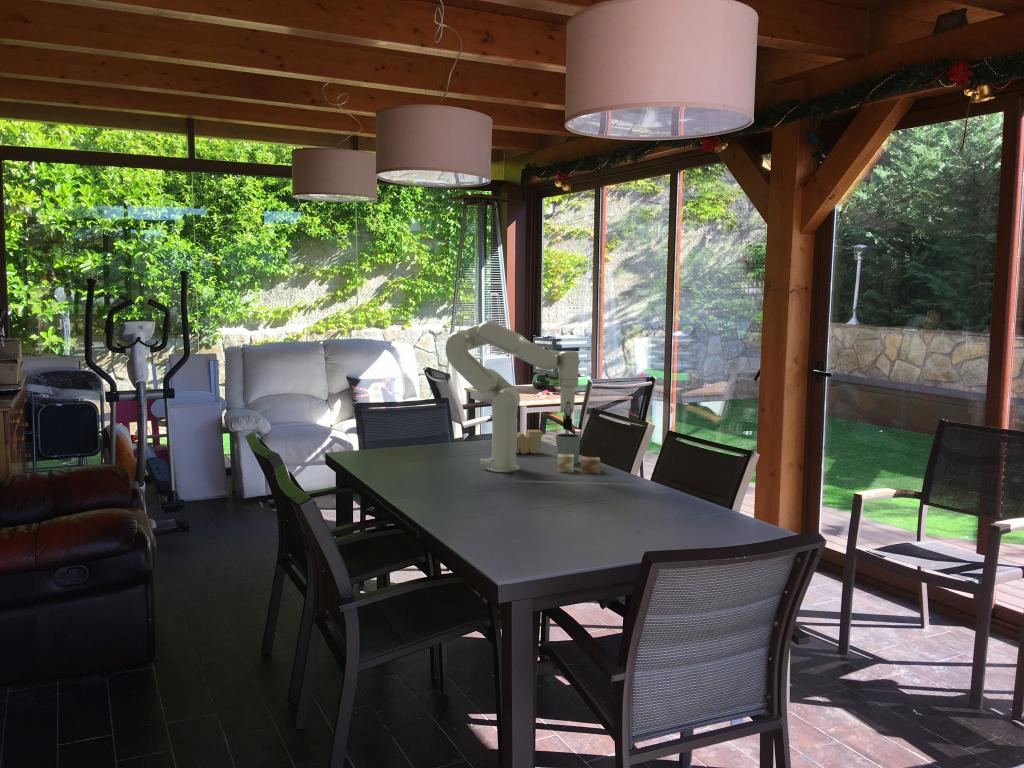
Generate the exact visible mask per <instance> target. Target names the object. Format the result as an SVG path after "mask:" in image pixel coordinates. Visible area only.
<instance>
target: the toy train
mask: <svg viewBox="0 0 1024 768" xmlns="http://www.w3.org/2000/svg"><path fill="white" fill-rule="evenodd" d="M543 435H544V432H543V431H542V430H540V429H526V433H525V434H524V433H522V432H520V431H517V445H516V452H519V453H520V454H524V455H525V454H527V453H528V452H530V453H531V454H532V453H537V454H538V453H539V451H540V449H542V437H543Z"/></svg>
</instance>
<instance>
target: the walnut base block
mask: <svg viewBox="0 0 1024 768" xmlns="http://www.w3.org/2000/svg"><path fill="white" fill-rule="evenodd" d="M580 470H581V472H580V474H601V459H600V456H596V457H595V456H581V457H580Z"/></svg>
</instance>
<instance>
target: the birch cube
mask: <svg viewBox="0 0 1024 768" xmlns="http://www.w3.org/2000/svg"><path fill="white" fill-rule="evenodd" d="M574 466H575V464H574V454H558V462H557V473H575V471H574V470H575V469H574Z"/></svg>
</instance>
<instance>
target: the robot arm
mask: <svg viewBox="0 0 1024 768" xmlns="http://www.w3.org/2000/svg"><path fill="white" fill-rule="evenodd" d="M486 345H489V346H491V347H494V348H496V349H498V350H501V351H502V352H504V353H507V354H508V355H511V356H513V357H515V358H518V359H520V360H522V361H524V362H525V363H528V364H530V365H532V366H535V367H536V368H539V369H541V370H543V371H546V372H547V371H548V372H549V371H551V370H553V369H558V388H560V405H559V406H560V407H559V408H560V413H561V414H563V415H562V416H563V417H562V427H563V430H570V431H571V430H572V429H573V419H572V416H573V413H574V412H575V411H574V409H575V398H576V388H579V372H580V371H579V366H580V363H579V362H580V359H579V358H580V355H579V352H577V351H575V350H554V349H546V348H544V347H542V346H539V345H537V344H536V343H534V342H531V341H530V340H528V339H527V338H526V337H525V336H523V335H522V334H520V333H518V332H516V331H513V330H512V329H509V328H507V327H505V326H503V325H500V324H499V323H498V322H497V321H495V320H485V321H482V322H481V323H479V324H476V325H473V326H470V327H467V328H464V329H461V330H459V329H458V330H455V331H453V332H452V333H450V335H449V336H448V338H447V340H446V343H445V355H446V358H447V361H448V363H449V364H450V365H451V367H452V368H453V369H455V371H456V372H457V373H458V374H459V375H460V376H462V377H463V379H464V380H466V382H467V383H469V384H470V385H471V386H472V387H473V388H474V389H475V391H477V392H478V393H479V394H482V395H487V396H488V397H489V399H491V401H492V402H491V411H492V413H491V415H492V418H491V419H492V423H491V424H492V428H491V431H492V432H491V433H492V435H491V457H489V458H480V460H479V464H482V465H488V466H487V470H488V471H490V472H495V473H514V471H519V470H520V469H521V467H520V466H519V465H517V451H516V445H517V433H518V430H517V429H518V406H520V402H521V395H520V393H519V391H518V390H517V389H516V388H515V387H514V386H513V385H512V384H511V383H509V382H508V381H507V380H506V379H505V377H503V376H502V375H501V374H499V373H498V372H497V371H496V370H494V369H492V368H487V367H485V366H484V365H483V364H482V363H481V362H479V360H478V359H477V358H475V357H474V356H473V355H472V354H471V353H470V352H469V351H470V350H474V349H476V348H477V349H478V348H480V347H482V346H486Z"/></svg>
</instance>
